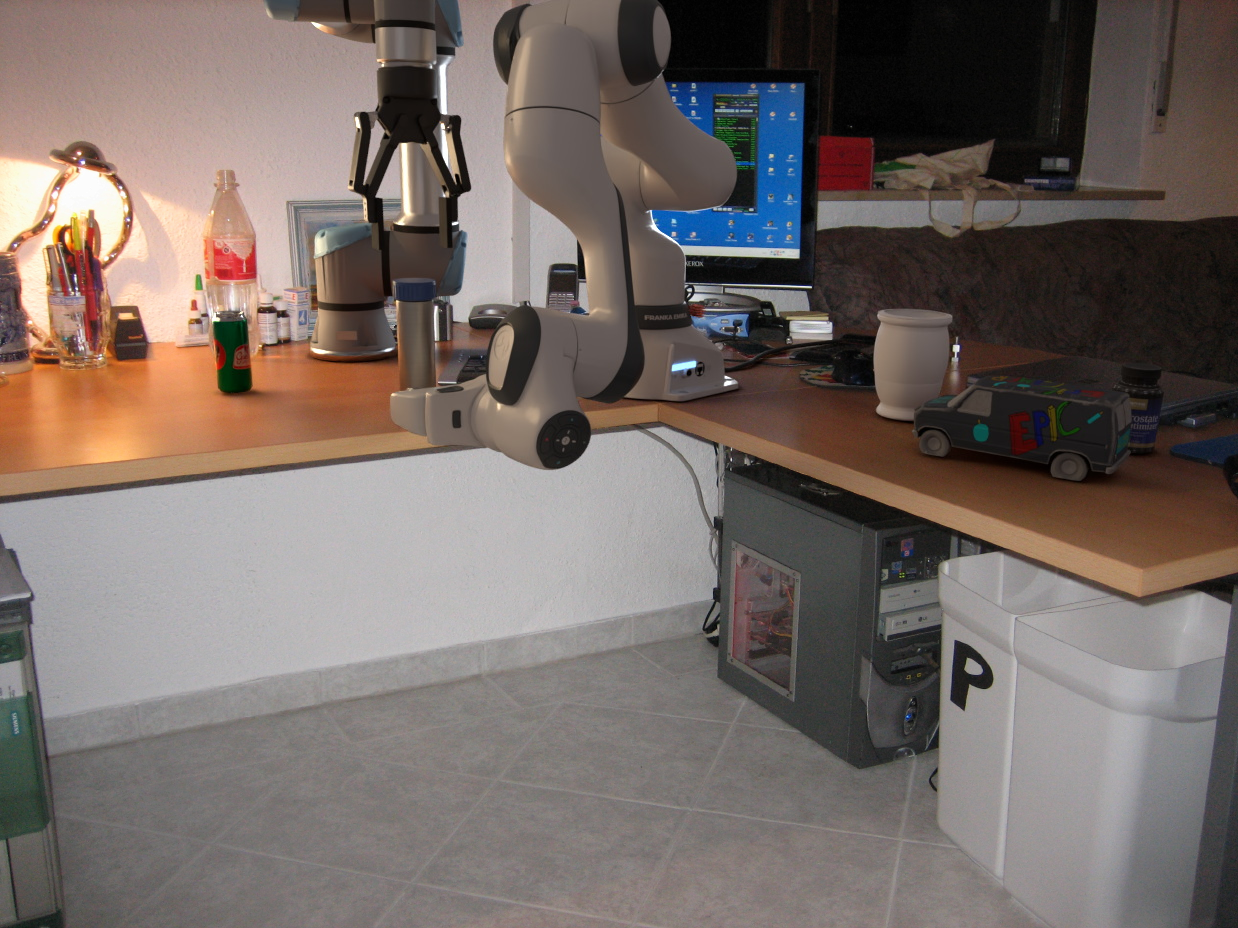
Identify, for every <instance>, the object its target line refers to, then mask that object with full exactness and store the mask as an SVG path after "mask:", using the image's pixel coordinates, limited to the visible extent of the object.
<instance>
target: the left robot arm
mask: <svg viewBox="0 0 1238 928" xmlns="http://www.w3.org/2000/svg"><path fill="white" fill-rule="evenodd" d="M262 1H263V5H264V10H265V12H266V14H267V17H269V18H270V19H272V20H276V21H285V22H288V23H296V22H298V23H299V22H301V23H303V22H304V23H311V24H312V25H313V26H314V27H315V28H317V29H318V30H320V31H321V32H323V33H325V34H329V35H331V36H335V37H337V38H340V39H344V40H349V41H351V42H357V43H363V44H374V45H375V60H376V62H377V63H378V64H380V65H381V67H379V68H378V69H377V70H376V87H377V90H376V91H377V106H376V108H375V109H374V111H356V112H355V113H354V114H353V121H354V127H355V136H354V141H353V148H352V149H353V150H352V155H351V161H350V167H349V173H348V174H349V175H348V180H347V189H348V191H350V193H351V192H352V193H355V194H358V195H360V196H361V198H362V205H363V219H364V222H359V223H350V224H343V225H337V226H330V227H326V228H322V229H319V231H317V232H316V234H315V235H314V255H313V259H314V262H315V263H314V264H315V265H314V266H315V279H316V297H317V310H318V311H317V316H316V321H315V323H314V327H313V331H312V335H311V338H310V342H309V355H310V356H311V357H312V358H314V359H317V360H323V361H331V362H366V361H376V360H382V359H387V358H390V357H394V356H395V355H396V354H397V342H396V339H395V337H394V336H397V325H395V326H394V328H395V329H396V330H392V329H391V328H390V326H391V325H390V323H389V320H388V317H387V314H386V311H385V298H386V297H392V298H393V288H392V284H393V280H394V279H400V278H429V279H434V280H435V284H436V298H438V297H439V298H440V297H452V296H453V297H454V296H456V295H458V294H459V293H460V292H461V290H462V288H463V281H464V275H465V266H466V257H467V247H468V246H467V244H468V232H467V231H465V230H463V229H460V220H459V198H460V197H461V195H462V194H466V193H469V192H471V190H472V184H471V178H470V174H469V169H468V165H467V160H466V155H465V150H464V145H463V141H462V137H461V136H462V135H461V130H462V117H461V116H460V115H458V114H449V105H448V104H449V103H448V67H449V66H450V65H451V63H453V62H454V60H455V59H456V48H461V47H463V46H464V37H463V36H464V35H463V28H462V19H461V13H460V5H459V0H262ZM376 122H378V124H379V125H380V126H381V128H382V129H383V131H384V132H383V135H382V137H381V140H380V143H379V147H378V150H377V153H376V155H375V156H374V157H375V158H374V160H373V161H372V164H371V167H370V169H369V172H368V174H367V176H366V170H367V164H368V156H369V153H370V152H369V151H370V145H371V140H372V139H371V138H372V129H374V128H375V126H376V125H375V124H376ZM397 149H398V163H399V188H400V212H399V213H398V214H397V216H395V217H394V219H393V220H392V226H393V227H392V228H393V229H392V230H385V221H384V219H385V218H384V199H383V198H382V197H377V194H378V192H379V190H380V187H381V185H382V182H383V181H384V178H385V175H386V173H387V170H388V168H389V165H390V163H391V160H392V159H393V157H394V154H395V151H396V150H397ZM450 166H451V171H452V173H451V171H450ZM365 177H366V179H365ZM436 298H435V299H436Z"/></svg>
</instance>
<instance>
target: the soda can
mask: <svg viewBox="0 0 1238 928" xmlns="http://www.w3.org/2000/svg"><path fill="white" fill-rule="evenodd" d="M248 320H249V319H248V317H247V316H246V315H245V311H243V310H219V311H215V312H214V313H213V317H212V319H211V325H212V327H211V328H212V338H213V348H214V349H213V351H214V359H215V360H214V361H215V372H216V382H217V384H216V385H217V389H218V390H219V391H220V392H221V393H224V394H229V395H231V394H233V395H234V394H243V393H248V392H250V391H251V390H252V388H253V386H254V383H253V373H252V370H253V369H252V358H251V347H250V334H249V333H250V331H249V321H248Z"/></svg>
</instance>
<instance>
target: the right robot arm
mask: <svg viewBox="0 0 1238 928" xmlns="http://www.w3.org/2000/svg"><path fill="white" fill-rule="evenodd" d="M670 27H671V26H670V23H669V20H668V18H667V14H666V10H665V8H664V6H663V5H662V4H661V2H660V1H658V0H547V1H542V2H539V3H535V4H531V3H524V4H520V5H517V6H515V7H512V8H510V9H508V10H506V11H504V12H503V14H502V15H501V17H500V19H499V20H498V22H497V23H496V25H495V28H494V31H493V38H492V52H493V59H494V63H495V67H496V70H497V73H498V75H499V77H500V78H501V80H502V82H504V84H505V85H507V87H506V96H505V104H504V118H503V119H504V120H503V137H502V138H503V140H502V141H503V142H502V146H503V147H502V149H503V156H504V157H503V158H504V163H505V167H506V169H507V170H506V171H507V173H508V175H509V177H510V178H511V180H512V182H513V183H514V184H515V186H516V187H517V188H518V189H519V190H520V192H522V194H523V195H524V196H525V197H526V198H528V199H529V200H530V201H532V203H534V204H536V205H537V206H539V207H540V208H542V209H543V210H544V211H547V212H548V213H550V214H551V215H552V216H554V218H556V219H558V221H560V222H561V223H562V224H563V225H564V226H566V227H567V228H568V230H569V231H570V232H571V233H572V234H573V235H574V237H575V238H576V240H577V241H578V244H579V245H580V248H581V252H582V256H583V262H584V272H585V284H586V292H587V303H588V315H587V314H581V313H574V312H568V311H563V310H560V309H553V308H549V307H543V306H542V307H541V306H534V305H528V304H522V305H519V306H518V307H515V308H513V309H512V310H511V311H510V312H508V313H507V314H506V315H505V316H504V318H502V319H501V321H500V322H499V323H498V325H497V326H496V327H495V329H494V330H493V332H492V334H491V336H490V338H489V342H488V346H487V352H486V358H485V373H484V374H482V375H479V376H477V377H475V378H474V379H470V380H466V381H464V382H462V383H457V384H456V383H455V384H449V385H441V386H436V387H431V388H423V389H421V388H418V387H416V388H407V389H406V391H400V390H398V391H393V392H392V393H391V394H390V397H389V413H390V418H391V421H392V422H393V423H394V424H395V425H397V426H398V427H400V428H402V429H403V430H405V431H408V432H409V433H411V434H413V435H417V436H421V437H426V439H427V443H428V444H430V445H432V446H436V447H437V446H438V447H442V446H443V447H449V446H450V447H451V446H459V447H461V446H462V447H463V446H467V447H474V448H479V449H490V450H491V451H494V452H497V453H502V454H503V455H504V456H506V457H507V458H509V459H511V460H513V461H515V462H517V463H520V464H522V465H525V466H528V467H531V468H534V469H537V470H542V471H556V470H561V469H564V468H566V467H569V466H570V465H573V464H574V463H575V462H576V461H578V460H579V459H581V457H582V456H583V455H584V454H585V452H586V450H587V449H588V447H589V444H590V442H591V439H592V426H591V422H590V419H589V417H588V416H587V414H586V413H585V412H584V411H583V409H582V407H581V404H580V403H579V400H578V398H581V399H584V400H588V401H593V402H598V403H603V404H606V405H607V404H615V403H617V402H619V401H620V400H622V399H623V398H629V399H637V400H639V399H640V400H663V401H669V402H685V401H686V402H687V401H691V400H695V399H699V398H704V397H707V396H712V395H716V394H721V393H725V392H730V391H734V390H737V389H739V387H740V386H739V382H738V381H737V380H736V379H734V378H732V377H730V376H727V375H726V373H728V372H734V371H738V370H742V369H743V368H746V367H749V366H751V365H754V364H756V362H757V361H759V360H761V359H764V358H765V357H767V356H769V355H772V354H776V353H779V352H784V351H789V350H795V349H801V348H810V347H819V346H827V345H835V344H834V343H836V344H839V343H838V342H842V341H843V340H844V339H843V338H836V339H825V340H818V341H810V342H800V343H795V344H789V345H783V346H782V345H781V346H778V347H774V348H771V349H768V350H765V351H763V352H761V353H759V354H757V355H755V356H754V357H751V359H749V360H746V361H744V362H741V363H739V364H736V365H733V366H730V367H729V366H727V367H725V359H724V355H723V352H722V350H721V348H719V346H717V345H716V344H715V342H713V341H711V340H710V339H709V338H708V337H707V336H706V335H705V334H703V333H702V332H701V331H700V330H699V329H697V328H696V327H695V326H694V325H693V324H694V321H693V318H692V317H696V318H699V319H702V318H703V317H704V315H706V312H707V310H706V307H705V305H703V304H698V303H692V304H691V305H690V304H689V303H688V302H686V301H685V298H686V297H685V295H686V269H687V268H686V266H687V258H686V254H685V252H684V250H683V248H682V246H681V245H680V244H679V243H678V242H677V241H676V240H674V239H673V238H671V237H670V236H668V235H667V234H666V233H663V232H662V231H660V229H658V227H657V226H656V224H655V221H654V219H653V213H652V211H668V212H691V213H692V212H698V211H705V210H709V209H715V208H720V207H722V206H723V205H724V204H725V203H726V202H727V201H728V200H729V198H730V197H731V196H732V193H733V192H734V189H735V187H736V183H737V178H738V167H737V166H738V165H737V162H736V159H735V155H734V153H733V151H732V150H731V148H730V147H729V146H728V144H727V143H726V142H725V141H723V140H721V139H718V138H716V137H715V136H711V135H710V134H708V133H707V132H705V131H704V130H702V129H701V128H699V127H698V126H697V125H696V124H694V123H693V122H692V121H691V120H690V119H689V118H688V117H687V116H686V115H684V113H683V112H682V111H681V109H679V108H678V106H677V105H676V104H675V101H673V98H672V96H671V94H670V91H669V89H668V86H667V84H666V81H665V78H664V75H663V72H664V71H665V70H666V69H667V66H668V63H669V56H670V52H671V45H672V36H671V35H672V34H671V33H672V32H671V28H670Z"/></svg>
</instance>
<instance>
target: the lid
mask: <svg viewBox="0 0 1238 928" xmlns="http://www.w3.org/2000/svg"><path fill="white" fill-rule="evenodd" d="M392 288H393V297H392V298H393V299H394V300H396V299H397V300H406V301H422V300H431V299H433V300H435V299H436V284H435V280H434V279H429V278H400V279H394V280H393V284H392Z"/></svg>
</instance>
